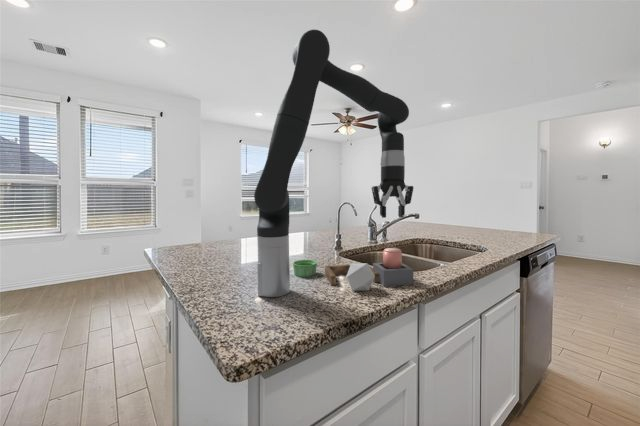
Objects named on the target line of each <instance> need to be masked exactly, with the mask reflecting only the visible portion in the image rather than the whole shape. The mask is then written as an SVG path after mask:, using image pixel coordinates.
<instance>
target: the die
mask: <svg viewBox="0 0 640 426" xmlns="http://www.w3.org/2000/svg"><path fill="white" fill-rule="evenodd" d="M349 265H350V268H349V271H348V273H347V274H346V277H345V278H346V282H348V285H349V287H350V289H351V291H352V292H360V291H361V292H363V291H364V292H365V291H367V292H368V291H370V289H371V288H372V287H371V286H372V284H373V283H374V282H373V280H374V277H375V275H374V274H373V272H372V270H371V269H370V267H371V266H370V265H369V263H368V262H367V263H366V262H365V263H361V262H360V263H354V262H353V263H350V264H349ZM369 266H370V267H369Z"/></svg>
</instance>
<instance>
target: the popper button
mask: <svg viewBox="0 0 640 426" xmlns="http://www.w3.org/2000/svg"><path fill="white" fill-rule="evenodd" d="M402 255H403V253H402V250H401V249H400V248H397V247H396V248H395V247H387V248H384V250H383V251H382V263H383V266H384V267H386V268H401V267H402V263H403V262H402V259H403V258H402Z"/></svg>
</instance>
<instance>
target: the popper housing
mask: <svg viewBox="0 0 640 426" xmlns="http://www.w3.org/2000/svg"><path fill="white" fill-rule="evenodd" d="M372 269H374V270H375V271H376V272H378V273H379V284H380V285H381V286H382V287H395V286H410V284H413V285H414V269H413V268H412V267H410V266H408V265H407V264H405V263H403V262H402V267H401V268H386V267H384V266H383V262H374V263H372Z"/></svg>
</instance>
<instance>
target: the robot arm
mask: <svg viewBox="0 0 640 426" xmlns="http://www.w3.org/2000/svg"><path fill="white" fill-rule="evenodd" d="M330 50H331V48H330V42H329V40H328V38H327V36H326V34H325V33H324V32H322V31H321V30H319V29H309V30H307V31H306V32H304V33H303V34H302V35H301V36H300V37H299V39H298V40H297V43H296V45H295V46H294V49H293V50H292V51H293V52H292V56H291V57H292V62H293V65H294V70H293V73H292V78H291V79H290V83H289V85H288V87H287V89H286V92H285V93H284V96H283V98H282V101H281V103H280V106H279V109H278V112H277V114H276V117H275V122H274V125H273V130H272V133H271V137H270V141H269V147H268V152H267V156H266V161H265V164H264V166H263V169H262V172H261V175H260V177H259V180H258V182H257V184H256V188H255V190H254V195H253V197H254V202H255V205H256V207H257V208H258V215H259V216H258V224H257V228H256V229H257V230H256V232H257V233H256V235H257V237H256V238H257V239H256V240H257V264H256V265H257V267H256V268H257V296H258V297H265V298H279V297H282V296H285V295H288V294H289V293H290V291H291V280H290V279H291V278H290V277H291V276H290V272H291V271H290V235H289V234H290V195H289V193H290V192H289V190H288V186H289V180H290V176H291V172H292V168H293V165H294V163H295V161H296V159H297V158H298V155H299V153H300V151H301V149H302V147H303V143H304V141H305V138H306V135H307V131H308V127H309V125H310V120H311V115H312V111H313V107H314V103H315V98H316V94H317V89H318V86H319V83H320V82H321V83H323V84H325V85H326V86H328V87H330V88H333V89H334V90H336V91H338V92H339V93H341V94H343V95H344V96H345V97H347V98H349V99H350V100H352V101H353V102H354V103H355V104H357V105H359V106H360V107H362V108H363V109H364V110H366V111H367V112H369V113H373V112H374V113H375V112H378V114H377V125H378V130H379V135H380V138H381V156H380V184H379V185H372V186H371V191H372V192H371V193H372V199H373V203H374V204H375V205H378V206H379V215H380V216H381V218H383V219H385V218H387V206H386V205H387V202H388V200H389V198H390V197H395V199H396V200H397V203H398V207H397V208H398V213H397V216H398V217H399V218H403V217H404V216H405V214H406V212H405V211H406V206H407V205H410V204H411V203H412V198H413V193H414V186H413V185H408V184H407V185H406V183H405V175H406V174H405V171H406V170H405V165H406V163H405V159H406V158H405V137H404V135H403V133H401V132H399V131H397V125H400V124H403V123H404V122H406V120H407V119H408V118H409V116H410V110H409V107H408V105H407V104H406V102H405V101H404V100H403V99H401V98H399V97H397V96H395V95H392V94H390V93H388V92H385V91H382V90H380V88H378V87H377V86H375V84H373V83H372V82H371V81H369V80H367V79H366V78H364V77H362V76H360V75H357V74H355V73H353V72H352V73H351V72H349V71H347V70H344V69H343V68H340V67H339V66H337V65H335V64H334V63H332V62H331V61H330V60H329V57H330ZM380 190H381V191H380ZM403 191H404V192H405V195H404V194H403ZM379 192H382V195H381V198H380V193H379Z"/></svg>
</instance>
